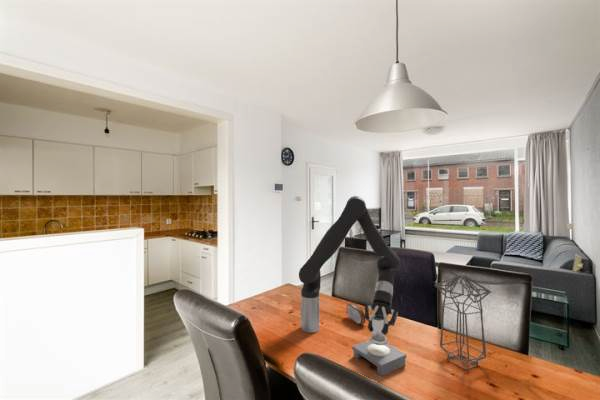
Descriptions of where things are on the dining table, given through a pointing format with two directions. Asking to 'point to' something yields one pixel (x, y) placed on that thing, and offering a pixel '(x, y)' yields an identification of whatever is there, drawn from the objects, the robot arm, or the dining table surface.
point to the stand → (380, 356)
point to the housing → (378, 331)
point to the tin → (356, 313)
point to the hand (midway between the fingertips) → (377, 332)
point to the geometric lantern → (466, 280)
